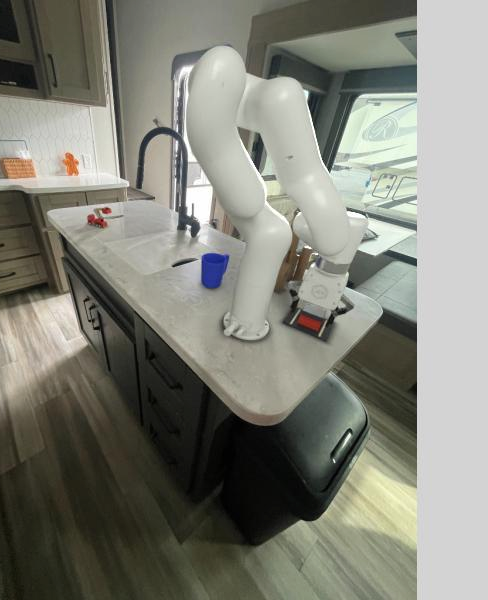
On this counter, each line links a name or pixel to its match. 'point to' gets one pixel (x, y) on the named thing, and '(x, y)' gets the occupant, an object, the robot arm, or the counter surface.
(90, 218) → the toy fire truck
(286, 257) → the wooden toy
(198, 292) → the counter surface
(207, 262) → the mug
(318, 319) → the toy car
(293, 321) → the mat
